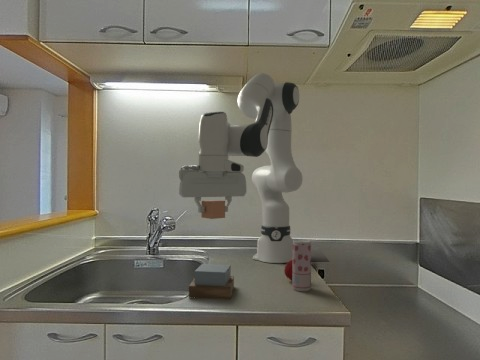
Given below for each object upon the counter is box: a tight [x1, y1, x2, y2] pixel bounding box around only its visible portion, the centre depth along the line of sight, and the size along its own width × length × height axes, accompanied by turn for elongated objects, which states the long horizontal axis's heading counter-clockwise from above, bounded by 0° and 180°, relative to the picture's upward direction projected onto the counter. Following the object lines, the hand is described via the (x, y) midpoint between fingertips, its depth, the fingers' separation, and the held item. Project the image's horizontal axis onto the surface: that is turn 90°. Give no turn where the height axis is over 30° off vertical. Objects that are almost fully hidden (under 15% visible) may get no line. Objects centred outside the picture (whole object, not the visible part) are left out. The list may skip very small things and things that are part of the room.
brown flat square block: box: [188, 275, 235, 300], centre depth 118 cm, size 12×12×4 cm
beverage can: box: [291, 238, 312, 292], centre depth 122 cm, size 6×6×15 cm
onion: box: [283, 258, 293, 282], centre depth 130 cm, size 6×6×8 cm
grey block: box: [194, 263, 232, 286], centre depth 118 cm, size 9×9×4 cm
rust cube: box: [201, 199, 226, 220], centre depth 117 cm, size 5×5×5 cm
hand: (213, 212), depth 117 cm, fingers closed on rust cube, 6 cm apart
